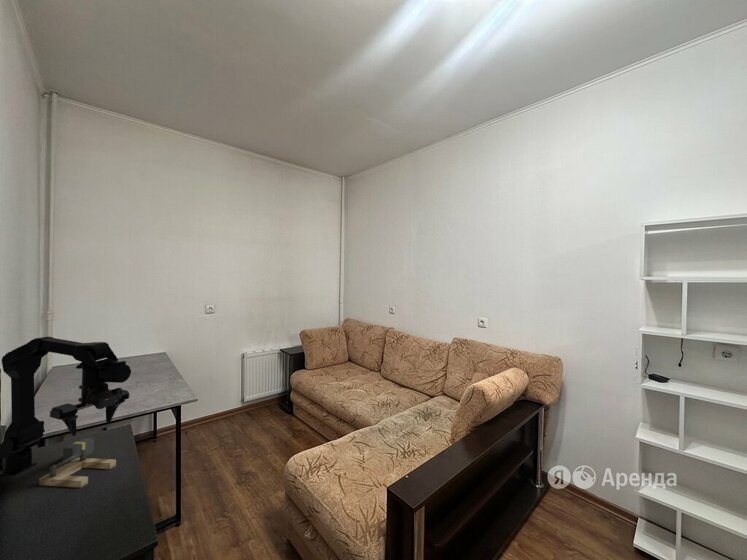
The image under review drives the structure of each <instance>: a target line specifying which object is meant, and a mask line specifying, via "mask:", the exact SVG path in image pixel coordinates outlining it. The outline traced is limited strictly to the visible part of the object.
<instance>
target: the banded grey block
mask: <svg viewBox="0 0 747 560" xmlns="http://www.w3.org/2000/svg"><path fill="white" fill-rule="evenodd" d="M94 439H95V438H92V437H84V438H81V439H80V440H78V441H75V442H73V443H71V444H70V445H68V446H67V445H66V446H65V447H64V448H63V452H62V453H63V455H62V457H63V458H62V461H64V460H66V459H67V458H69V457H71V456H73V455H75V454H77V453H79V452H80V451H81V450H84V449H85V450H86V457H87V456H89V455H91V454H92V453H94V450H95V449H94V446H95V445H94V442H95V440H94ZM77 458H80V456H79V457H77ZM77 458H75V459H77ZM75 459H73V460H75ZM73 460H71V461H73ZM71 461H69V462H71ZM69 462H67V463H66V464H68V463H69Z"/></svg>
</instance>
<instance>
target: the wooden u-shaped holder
mask: <svg viewBox="0 0 747 560" xmlns="http://www.w3.org/2000/svg"><path fill="white" fill-rule="evenodd" d="M79 456H80V458H77V457H79ZM75 458H77V459H75ZM73 459H75V460H73ZM71 460H73V461H71ZM69 461H71V462H69ZM67 462H69V463H67ZM116 466H117V459H111V458H110V459H108V458H107V459H106V458H93V457H92V458H91V457H90V458H89V457H87V456H86V450H85V449H84V450H81V451H80V452H79V453H77V454H75V455H73V456H71V457H69V458H67V459H66V460H64V461H63V460H62V461H60V462H58V463H56V464H52V465H50V466H49V473H46V474H45V475H42V476H41V477H40V478H39V480H38V481H39V483H38V485H39V486H45V487H46V486H47V487H64V488H65V487H66V488H78V489H81V488H84V487H85V486H86V485H88V484H89V476H84V475H81V476H80V475H72V474H75V473H77V472H78V471H79V470H81V469H100V470H101V469H102V470H111V469H113V468H114V467H116Z"/></svg>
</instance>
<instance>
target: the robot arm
mask: <svg viewBox="0 0 747 560" xmlns="http://www.w3.org/2000/svg"><path fill="white" fill-rule="evenodd" d="M49 353H53V354H58V355H59V354H60V355H65V356H70V357H73V359H74V360H75V361H78V362H80V363H79V364H78V365H76V366H75V369H81V384H80V385H78V389H79V390H81V394H80V397H79V398H78V402H79V403H77V404H72V403H64V404H61V405H57V406H54V407H52V408H51V410H50V412H49V418H53V419H56V420H60V421H62V422H63V423H64V424H65V426H66V428H67V429H68V431H69V432H70V435H71V436H73V437H75V436H76V435H77V419H78V417H79V415H77V414H78V413H79V412H78V411H80V410H84V409H87V408H91V407H93V406H94V407H95V408H96V410H103V409H105V420H106V423H107V424H110V423H111V422H112V419H113V417H114V415H115V413H116V411H117V409H118V408H119V406H120V405H122V404H123V403H125V402H126V400H129V399H130V392H129V390H126V389H123V388H122V387H116V388H113V389H110V388H109V383H115V384H116V383H117V384H118V383H120V384H122V383H125V382H126V381H128V380H129V378H130V376H131V373H132V369H131V367H130V366H129V365H128V364H127V361H126V360H121V361H119V358H118V357H117V355H116V354H115V352H113V350H112V348H111V347H110V345H109V343H108V342H105V341H94V342H92V341H91V342H80V341H74V340H73V341H72V340H68V339H60V338H55V337H53V336H44V337H36V338H33V339H31V340H30V341H28V342H26V343H25V344H23V345H21V346H18V347H17V348H16V347H15V348H14V349H12V350H11V351H8V352H6V353H5V355H3V356H2V358H1V366H2V370H3V372H4V374H6V375H7V376H8V377H9V378H10V393H11V394H10V395H11V396H10V397H11V398H10V400H11V423H10V424H9V426H8V427H7V428H6V430H5V431H4V433H3V438H2V439H3V440H2V442H1V443H0V459H2V470H0V476H8V477H12V476H13V477H14V476H17V475H18V474H21V473H22V472H24V471H26V470H28V469H30V468H32V467H34V466H37V465H38V462H33V448H32V447H35V446H38V445H40V442H41V439H42V438H43V436H44V433H45V432H46V430H45V421H44V420H39V419H38V418H37V417H36V415H35V413H36V412H35V411H36V408H35V407H36V406H35V405H36V403H35V402H36V401H35V400H36V399H35V398H36V397H35V375H36V374H35V373H37V371H38V370H39V368H40V367H41V364H42V359H43V358H44V357H45V356H47V354H49Z"/></svg>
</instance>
